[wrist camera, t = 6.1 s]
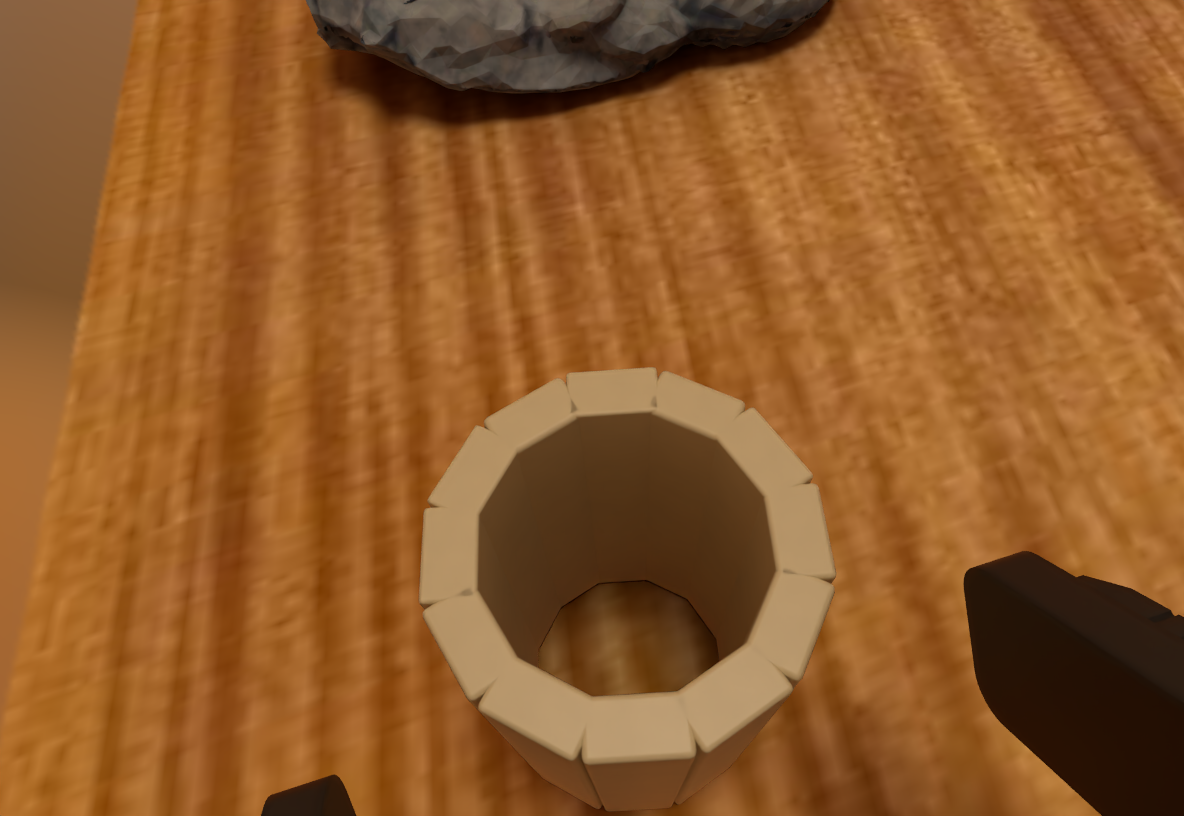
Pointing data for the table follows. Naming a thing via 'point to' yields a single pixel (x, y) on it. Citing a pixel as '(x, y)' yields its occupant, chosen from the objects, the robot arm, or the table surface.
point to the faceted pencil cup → (626, 573)
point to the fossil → (546, 36)
